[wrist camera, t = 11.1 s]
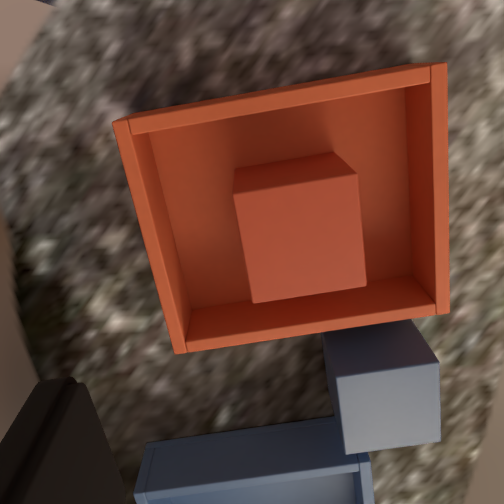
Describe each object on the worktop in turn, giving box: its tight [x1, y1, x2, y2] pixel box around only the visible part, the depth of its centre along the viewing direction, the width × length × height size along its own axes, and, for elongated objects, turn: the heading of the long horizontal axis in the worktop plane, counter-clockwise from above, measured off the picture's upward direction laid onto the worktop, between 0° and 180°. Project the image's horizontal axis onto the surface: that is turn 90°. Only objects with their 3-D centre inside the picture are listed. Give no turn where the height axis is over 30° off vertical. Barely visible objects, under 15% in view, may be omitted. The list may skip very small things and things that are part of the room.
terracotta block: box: [232, 152, 367, 303], centre depth 19 cm, size 4×4×4 cm
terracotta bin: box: [112, 62, 450, 354], centre depth 20 cm, size 12×10×4 cm
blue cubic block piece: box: [321, 319, 441, 455], centre depth 23 cm, size 4×4×4 cm
